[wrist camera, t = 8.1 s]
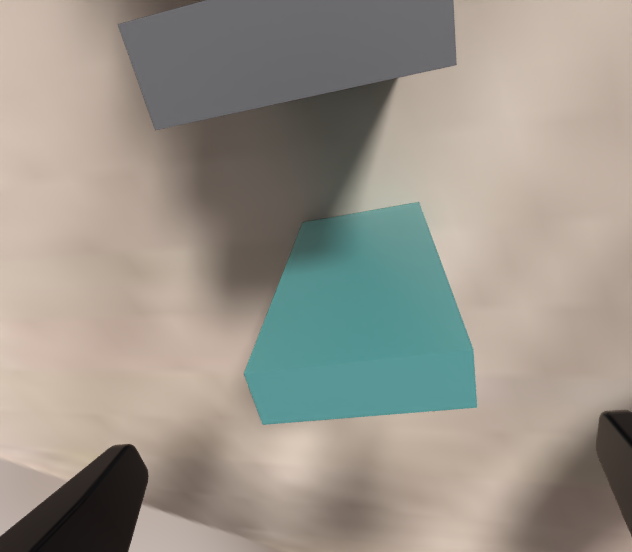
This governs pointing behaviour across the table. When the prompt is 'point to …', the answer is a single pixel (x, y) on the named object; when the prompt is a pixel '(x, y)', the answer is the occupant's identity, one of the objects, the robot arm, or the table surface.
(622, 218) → the table surface
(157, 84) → the domino
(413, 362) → the domino
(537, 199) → the table surface
